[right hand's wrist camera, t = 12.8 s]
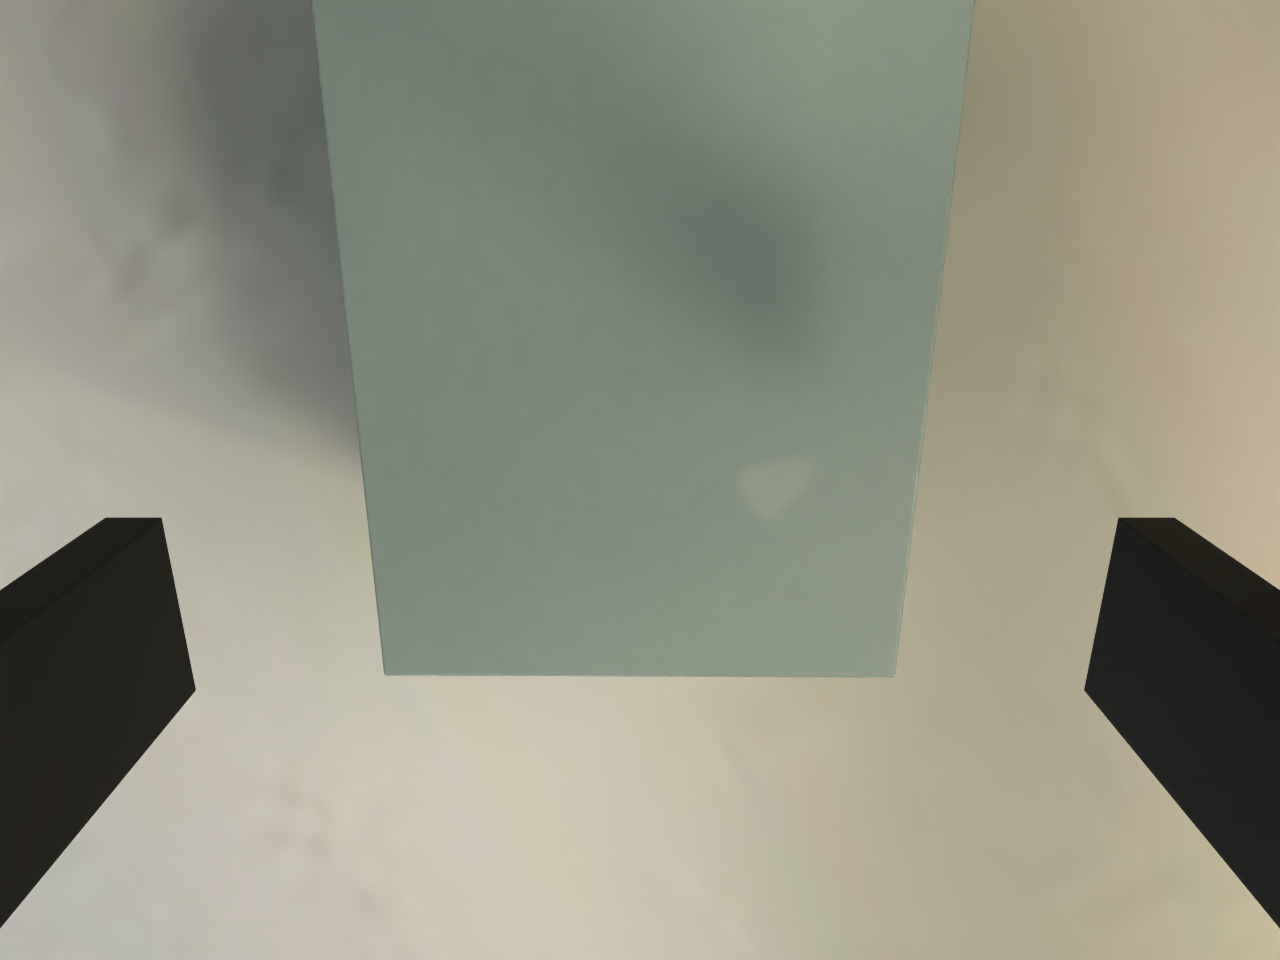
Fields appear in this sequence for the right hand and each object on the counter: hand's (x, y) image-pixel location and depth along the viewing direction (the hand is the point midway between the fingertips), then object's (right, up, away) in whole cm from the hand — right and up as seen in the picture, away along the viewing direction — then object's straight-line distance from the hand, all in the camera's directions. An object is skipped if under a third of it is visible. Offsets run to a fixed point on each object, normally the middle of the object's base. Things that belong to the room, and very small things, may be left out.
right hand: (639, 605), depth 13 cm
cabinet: (0, +9, +13) cm, 16 cm away
